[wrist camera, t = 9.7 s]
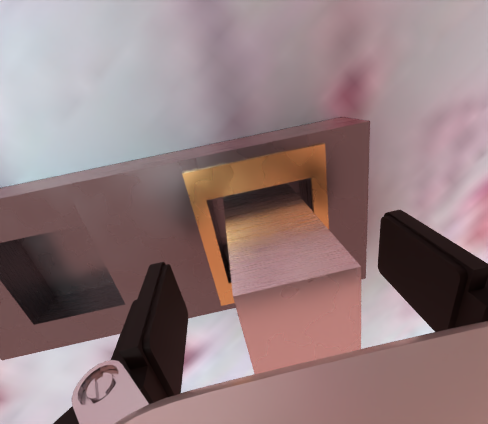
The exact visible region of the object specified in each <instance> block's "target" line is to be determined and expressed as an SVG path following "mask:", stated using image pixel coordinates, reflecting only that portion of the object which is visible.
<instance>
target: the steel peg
mask: <svg viewBox="0 0 488 424" xmlns="http://www.w3.org/2000/svg"><path fill="white" fill-rule="evenodd" d="M223 204H224V214H225V223H226V233H227V243H228V253H229V262H230V272H231V282H232V292H233V298H234V302H235V305H236V309H237V312H238V316H239V320H240V323H241V327H242V330H243V334H244V337H245V341H246V344H247V348H248V352H249V355H250V359H251V362H252V366H253V369H254V373H255V374H259V373H263V372H267V371H271V370H275V369H279V368H284V367H288V366H292V365H296V364H300V363H305V362H309V361H313V360H317V359H322V358H326V357H330V356H334V355H339V354H343V353H347V352H351V351H356V350H360V349H361V266H360V265H359V264H358V262H357V261H356V260H355V259H354V258H353V257H352V256H351V255H350V253H349V252H348V251H347V250H346V249H345V248H344V247H343V245H342V244H341V243H340V242H339V241H338V240H337V239H336V237H335V236H334V235H333V234H332V233H331V232H330V231H329V229H328V228H327V227H326V226H325V225H324V224H323V223H322V221H321V220H320V219H319V218H318V217H317V216H316V215H315V214H314V212H313V211H312V210H311V209H310V208H309V207H308V206H307V204H306V203H305V202H304V201H303V200H302V199H301V198H300V196H299V195H298V194H297V193H296V192H295V191H294V190H293V188H292V187H291V186H290V185H289V184H288V183H284V184H280V185H275V186H270V187H266V188H261V189H256V190H252V191H247V192H242V193H238V194H233V195H228V196H224V197H223Z"/></svg>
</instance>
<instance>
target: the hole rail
mask: <svg viewBox="0 0 488 424" xmlns="http://www.w3.org/2000/svg"><path fill="white" fill-rule="evenodd" d="M369 135H370V121H366V120H359V119H353V118H346V117H339V118H334V119H329V120H325V121H320V122H315V123H310V124H305V125H301V126H296V127H291V128H286V129H281V130H277V131H272V132H267V133H262V134H257V135H253V136H248V137H243V138H238V139H233V140H229V141H224V142H219V143H214V144H209V145H205V146H200V147H195V148H190V149H185V150H181V151H176V152H171V153H166V154H161V155H156V156H152V157H147V158H142V159H137V160H132V161H128V162H123V163H118V164H113V165H108V166H104V167H99V168H94V169H89V170H84V171H80V172H75V173H70V174H65V175H60V176H56V177H51V178H46V179H41V180H36V181H32V182H27V183H22V184H17V185H12V186H8V187H3V188H0V359H1V360H5V359H10V358H14V357H19V356H23V355H28V354H32V353H36V352H41V351H45V350H50V349H54V348H59V347H63V346H68V345H72V344H76V343H81V342H85V341H90V340H94V339H99V338H103V337H107V336H112V335H116V334H121V332H122V329H123V326H124V324H125V321H126V318H127V316H128V313H129V310H130V308H131V305H132V303H133V301H135V300H137V299H138V296H139V293H140V290H141V287H142V285H143V282H144V279H145V276H146V273H147V271H148V268H149V266H150V265H151V264H155V263H160V262H164V263H165V264H166V265H167V264H169V265H170V266H171V269H172V271H173V274H174V276H175V279H176V281H177V284H178V287H179V289H180V292H181V294H182V297H183V299H184V302H185V305H186V307H187V310H188V318H192V317H196V316H200V315H205V314H209V313H214V312H218V311H223V310H227V309H232V308H236V305H235V302H234V298H233V292H232V282H231V272H230V262H229V253H228V243H227V233H226V223H225V214H224V204H223V197H224V196H228V195H233V194H238V193H242V192H247V191H252V190H256V189H261V188H266V187H270V186H275V185H280V184H284V183H288V184H289V185H290V186H291V187H292V188H293V190H294V191H295V192H296V193H297V194H298V195H299V196H300V198H301V199H302V200H303V201H304V202H305V203H306V204H307V206H308V207H309V208H310V209H311V210H312V211H313V212H314V214H315V215H316V216H317V217H318V218H319V219H320V220H321V221H322V223H323V224H324V225H325V226H326V227H327V228H328V229H329V231H330V232H331V233H332V234H333V235H334V236H335V237H336V239H337V240H338V241H339V242H340V243H341V244H342V245H343V247H344V248H345V249H346V250H347V251H348V252H349V253H350V255H351V256H352V257H353V258H354V259H355V260H356V261H357V262H358V264H359V265H360V266H361V279H365V278H366V244H367V208H368V172H369Z"/></svg>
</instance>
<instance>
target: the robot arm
mask: <svg viewBox="0 0 488 424" xmlns="http://www.w3.org/2000/svg"><path fill="white" fill-rule="evenodd" d="M378 269H379V271H380V273H381V274H382V275H383V277H384V278H385V279H386V280H387V281H388V282H389V283H390V284H391V285H392V286H393V287H394V288H395V289H396V290H397V292H398V293H399V294H400V295H401V296H402V297H403V298H404V299H405V300H406V301H407V302H408V303H409V304H410V305H411V307H412V308H413V309H414V310H415V311H416V312H417V313H418V314H419V315H420V316H421V317H422V318H423V319H424V320H425V321H426V323H427V324H428V325H429V326H430V327H431V328H432V329H433V330H434V331H435V332H434V333H430V334H425V335H421V336H416V337H412V338H408V339H403V340H399V341H394V342H390V343H386V344H381V345H377V346H373V347H368V348H364V349H360V350H356V351H351V352H347V353H343V354H339V355H334V356H330V357H326V358H322V359H317V360H313V361H309V362H305V363H300V364H296V365H292V366H288V367H284V368H279V369H275V370H271V371H267V372H263V373H259V374H254V375H250V376H246V377H242V378H238V379H234V380H230V381H226V382H222V383H218V384H214V385H210V386H206V387H203V388H199V389H195V390H191V391H187V392H184V393H181V384H182V374H183V364H184V354H185V345H186V335H187V325H188V310H187V307H186V305H185V302H184V299H183V297H182V294H181V292H180V289H179V287H178V284H177V281H176V279H175V276H174V274H173V271H172V269H171V266H170V265H169V264H167V265H166V264H165V263H164V262H160V263H155V264H151V265H150V266H149V268H148V271H147V273H146V276H145V279H144V282H143V285H142V287H141V290H140V293H139V296H138V299H137V300H135V301H133V303H132V305H131V308H130V310H129V313H128V316H127V318H126V321H125V324H124V326H123V329H122V332H121V334H120V337H119V340H118V342H117V345H116V348H115V350H114V353H113V356H112V358H111V360H109V361H105V362H102V363H100V364H98V365H96V366H95V367H93V368H92V369H90V370H89V371H88V372H87V373H86V374H85V375H84V376H83V377H82V379H81V380H80V381H79V382H78V384H77V386H76V388H75V389H74V391H73V395H72V407H71V408H70V409H69V410H68V411H67V412H66V413H64V414H63V415H62V416H61V417H60V418H59V419H58V420H57V421H56V422H54V423H53V424H488V264H487V263H486V262H484V261H482V260H481V259H479V258H478V257H476V256H474V255H473V254H471V253H470V252H468V251H466V250H465V249H463V248H461V247H460V246H458V245H457V244H455V243H453V242H452V241H450V240H449V239H447V238H445V237H444V236H442V235H441V234H439V233H437V232H436V231H434V230H432V229H431V228H429V227H428V226H426V225H424V224H423V223H421V222H420V221H418V220H416V219H415V218H413V217H412V216H410V215H408V214H407V213H405V212H403V211H402V210H396V211H392V212H387V213H385V215H384V217H382V218H381V226H380V241H379V256H378Z"/></svg>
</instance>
